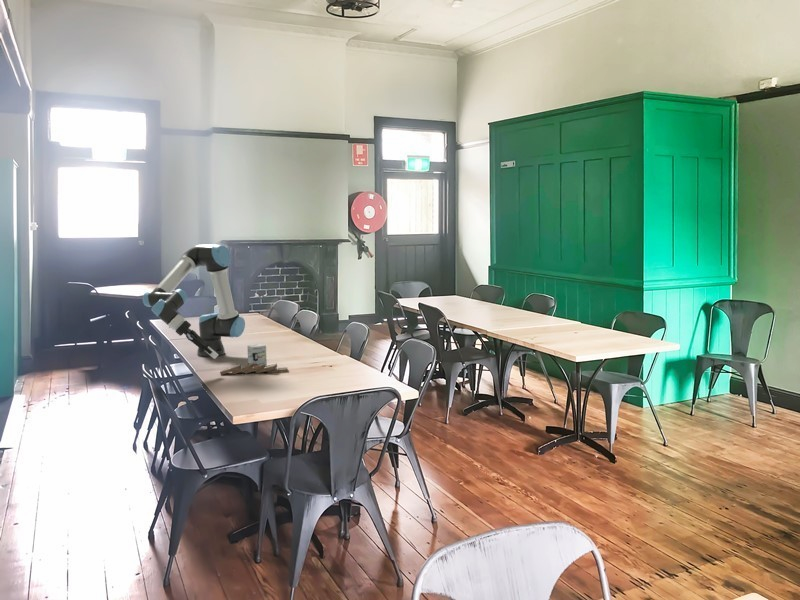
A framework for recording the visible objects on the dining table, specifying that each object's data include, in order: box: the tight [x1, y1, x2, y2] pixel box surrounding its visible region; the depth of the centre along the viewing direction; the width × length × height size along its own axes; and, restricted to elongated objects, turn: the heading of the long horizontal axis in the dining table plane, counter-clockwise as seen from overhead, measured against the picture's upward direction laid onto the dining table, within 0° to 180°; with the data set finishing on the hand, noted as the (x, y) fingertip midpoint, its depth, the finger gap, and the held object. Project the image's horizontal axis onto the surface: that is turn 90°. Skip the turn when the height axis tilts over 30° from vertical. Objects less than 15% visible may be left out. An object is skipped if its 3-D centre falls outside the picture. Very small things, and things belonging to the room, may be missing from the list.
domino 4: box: [266, 366, 289, 373], centre depth 345 cm, size 5×2×10 cm
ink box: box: [247, 343, 268, 366], centre depth 353 cm, size 9×5×12 cm, turn 126°
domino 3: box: [255, 363, 278, 374], centre depth 343 cm, size 5×2×10 cm
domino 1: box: [231, 363, 253, 375], centre depth 342 cm, size 5×2×10 cm
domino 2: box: [243, 363, 265, 374], centre depth 343 cm, size 5×2×10 cm
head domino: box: [219, 363, 242, 376], centre depth 341 cm, size 5×2×10 cm
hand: (216, 357), depth 339 cm, fingers closed
